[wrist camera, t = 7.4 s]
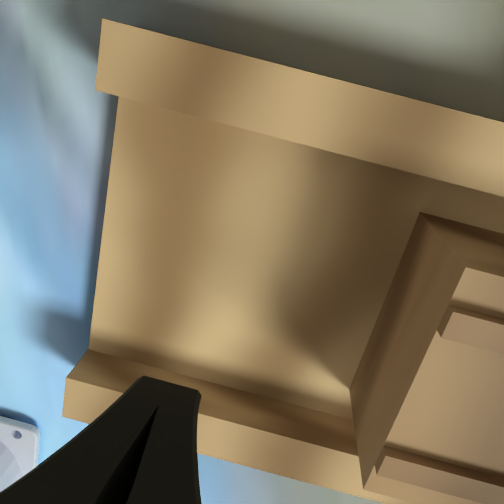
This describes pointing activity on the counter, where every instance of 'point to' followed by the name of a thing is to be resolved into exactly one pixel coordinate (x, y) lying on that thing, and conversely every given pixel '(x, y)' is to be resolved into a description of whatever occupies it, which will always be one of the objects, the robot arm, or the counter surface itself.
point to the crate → (436, 372)
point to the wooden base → (263, 241)
